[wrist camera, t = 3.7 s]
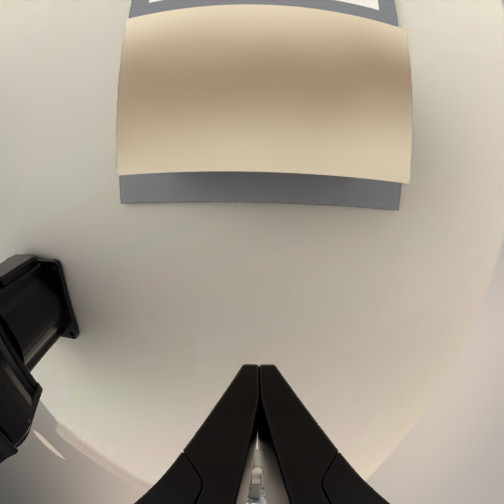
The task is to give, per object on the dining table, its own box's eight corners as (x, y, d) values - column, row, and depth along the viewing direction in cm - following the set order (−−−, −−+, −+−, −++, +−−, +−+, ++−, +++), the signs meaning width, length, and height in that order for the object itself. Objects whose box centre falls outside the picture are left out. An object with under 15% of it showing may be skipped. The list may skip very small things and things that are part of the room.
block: (354, 170, 14) (409, 183, 9) (168, 165, 14) (117, 175, 9) (356, 66, 12) (406, 29, 7) (170, 61, 12) (126, 19, 7)
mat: (395, 208, 15) (398, 210, 15) (123, 201, 15) (120, 203, 15) (373, -67, 8) (375, -69, 8) (154, -73, 8) (153, -76, 8)
